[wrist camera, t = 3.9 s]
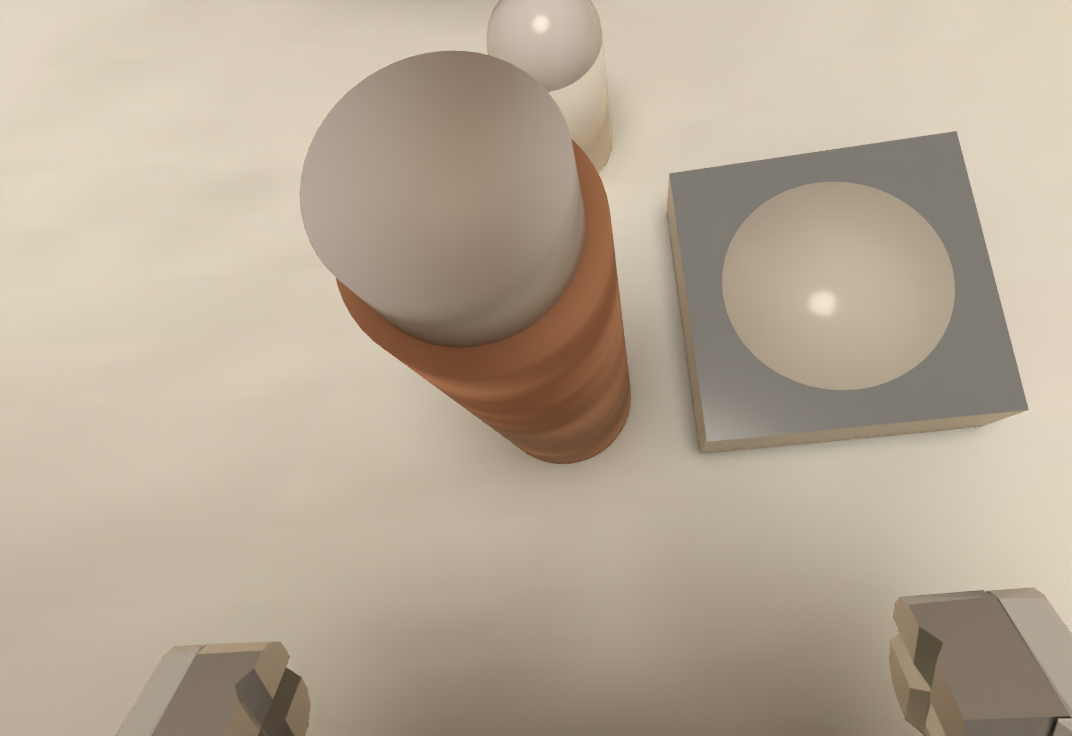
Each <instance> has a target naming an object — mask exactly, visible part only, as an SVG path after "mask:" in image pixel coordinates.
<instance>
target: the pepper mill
mask: <svg viewBox="0 0 1072 736" xmlns="http://www.w3.org/2000/svg"><path fill="white" fill-rule="evenodd" d="M300 204H301V213H302V218H303V223H304V227H305V230H306V233H307V235H308V238H309V241H310V243H311V245H312V247H313V248H314V250H315V252H316V254H317V256H318V257H319V258H320V260H321V261H322V262H323V264H324V265H325V266H326V268H327V269H328V270H329V271H330V272H331V273H332V274H333V275H334V276H335V277H336V280H337V285H338V288H339V291H340V293H341V296H342V299H343V301H344V303H345V305H346V307H347V309H348V310H349V312H350V314H351V316H352V317H353V318H354V320H355V321H356V322H357V324H358V325H359V326H360V328H361V329H362V330H363V331H364V332H365V333H366V334H367V335H368V336H369V337H370V338H371V339H372V340H373V341H374V342H375V343H377V344H378V345H379V346H381V347H382V348H384V349H385V350H386V351H388V352H389V353H390V354H392V355H393V356H394V357H396V358H397V359H399V360H400V361H401V362H403V363H404V364H405V365H407V366H408V367H409V368H411V369H412V370H414V371H415V372H416V373H418V374H419V375H420V376H422V377H423V378H425V379H426V380H427V381H429V382H430V383H431V384H433V385H434V386H435V387H437V388H438V389H440V390H441V391H442V392H444V393H445V394H446V395H448V396H449V397H451V398H452V399H453V400H455V401H456V402H457V403H459V404H460V405H461V406H463V407H464V408H466V409H467V410H468V411H470V412H471V413H472V414H474V415H475V416H477V417H478V418H479V419H481V420H482V421H483V422H485V423H486V424H487V425H489V426H490V427H492V428H493V429H494V430H496V431H497V432H498V433H500V434H501V435H503V436H504V437H505V438H507V439H508V440H509V441H511V442H512V443H513V444H515V445H516V446H518V447H519V448H520V449H522V450H523V451H524V452H526V453H527V454H529V455H531V456H533V457H534V458H537V459H539V460H542V461H546V462H550V463H558V464H569V463H575V462H580V461H583V460H587V459H589V458H591V457H593V456H595V455H597V454H598V453H600V452H602V451H603V450H604V449H606V448H607V447H608V446H609V445H610V444H611V443H612V442H613V441H614V440H615V439H616V437H617V436H618V435H619V433H620V432H621V430H622V428H623V426H624V424H625V422H626V419H627V417H628V413H629V408H630V400H631V395H630V383H629V374H628V366H627V357H626V348H625V339H624V331H623V322H622V313H621V304H620V296H619V287H618V278H617V269H616V261H615V252H614V243H613V234H612V226H611V217H610V210H609V205H608V200H607V195H606V192H605V189H604V186H603V183H602V181H601V178H600V176H599V174H598V173H597V171H596V169H595V167H594V165H593V163H592V162H591V161H590V159H589V158H588V156H587V155H586V154H585V152H584V151H583V150H582V149H581V148H580V147H579V146H578V145H577V144H576V143H575V142H574V141H573V140H572V139H571V135H570V132H569V129H568V126H567V123H566V120H565V118H564V116H563V114H562V113H561V111H560V109H559V107H558V105H557V104H556V102H555V101H554V99H553V98H552V97H551V95H550V94H549V93H548V91H547V90H546V89H545V88H544V87H543V86H542V85H541V84H540V83H539V82H538V81H537V80H535V79H534V78H533V77H531V76H530V75H529V74H527V73H526V72H525V71H523V70H521V69H520V68H518V67H516V66H514V65H513V64H511V63H509V62H506V61H504V60H501V59H498V58H496V57H493V56H489V55H485V54H481V53H475V52H466V51H440V52H432V53H425V54H421V55H417V56H413V57H409V58H406V59H403V60H401V61H398V62H395V63H393V64H391V65H389V66H387V67H384V68H382V69H380V70H378V71H377V72H375V73H374V74H372V75H370V76H369V77H367V78H366V79H364V80H363V81H361V82H360V83H359V84H358V85H356V86H355V87H354V88H352V89H351V90H350V91H349V92H348V93H347V94H346V95H345V96H344V97H343V98H342V99H341V100H340V101H339V102H338V103H337V104H336V105H335V106H334V108H333V109H332V110H331V111H330V112H329V114H328V115H327V116H326V118H325V119H324V121H323V122H322V124H321V126H320V127H319V129H318V130H317V132H316V134H315V136H314V138H313V140H312V142H311V145H310V147H309V150H308V153H307V156H306V159H305V161H304V166H303V171H302V176H301V186H300Z"/></svg>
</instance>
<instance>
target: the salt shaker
mask: <svg viewBox="0 0 1072 736" xmlns="http://www.w3.org/2000/svg"><path fill="white" fill-rule="evenodd" d="M487 51H488V55H489V56H493V57H496V58H498V59H501V60H504V61H506V62H509V63H511V64H513V65H514V66H516V67H518V68H520V69H521V70H523V71H525V72H526V73H527V74H529V75H530V76H531V77H533V78H534V79H535V80H537V81H538V82H539V83H540V84H541V85H542V86H543V87H544V88H545V89H546V90H547V91H548V93H549V94H550V95H551V97H552V98H553V99H554V101H555V102H556V104H557V105H558V107H559V109H560V111H561V113H562V114H563V116H564V118H565V120H566V123H567V126H568V129H569V132H570V135H571V139H572V140H573V141H574V142H575V143H576V144H577V145H578V146H579V147H580V148H581V149H582V150H583V151H584V152H585V154H586V155H587V156H588V158H589V159H590V161H591V162H592V163H593V165H594V167H595V169H596V171H597V173H599V172H600V171H601V170H602V168H603V167H604V166H605V164H606V163H607V161H608V159H609V156H610V153H611V148H612V137H611V125H610V114H609V103H608V92H607V80H606V69H605V58H604V46H603V35H602V28H601V23H600V19H599V16H598V13H597V11H596V9H595V7H594V5H593V3H592V2H591V0H499V1H498V2H497V4H496V6H495V7H494V10H493V12H492V14H491V17H490V20H489V23H488V29H487Z"/></svg>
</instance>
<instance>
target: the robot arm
mask: <svg viewBox="0 0 1072 736" xmlns="http://www.w3.org/2000/svg"><path fill="white" fill-rule="evenodd" d="M893 618H894V621H895V623H896V625H897V627H898V630H899V632H900V633H899V634H898V635H897V636H896V637H895V638H894V639H892V640H891V641H890V655H889V661H890V668H891V675H892V682H893V685H894V689H895V692H896V695H897V699H898V702H899V704H900V707H901V709H902V712H903V714H904V717H905V720H906V721H907V722H909V723H910V724H911V725H912V726H913V727H915V728H916V729H917V730H918V731H920V732H921V733H922V734H923V735H924V736H1072V634H1071V632H1070V631H1069V629H1068V628H1067V627H1066V625H1065V624H1064V622H1063V621H1062V619H1061V618H1060V617H1059V615H1058V614H1057V612H1056V611H1055V610H1054V608H1053V607H1052V605H1051V604H1050V602H1049V601H1048V600H1047V598H1046V597H1045V595H1044V594H1042V593H1041V592H1040V591H1038V590H1037V589H1035V588H1021V589H1007V590H993V591H986V592H985V591H983V590H980V591H968V592H956V593H943V594H931V595H919V596H907V597H899V598H898V600H897V601H896V603H895V607H894V615H893ZM289 658H290V656H289V654H288V653H287V651H286V649H285V648H284V646H283V645H282V643H281V642H260V643H234V644H209V645H192V646H175V647H174V648H173V649H171V650H170V651H169V652H168V653H167V654H165V655H164V656H163V658H162V659H161V661H160V662H159V664H158V666H157V668H156V669H155V671H154V673H153V674H152V676H151V678H150V679H149V681H148V683H147V684H146V686H145V688H144V689H143V691H142V693H141V694H140V696H139V698H138V699H137V701H136V703H135V704H134V706H133V708H132V709H131V711H130V713H129V714H128V716H127V718H126V719H125V721H124V723H123V724H122V726H121V728H120V730H119V731H118V733H117V735H116V736H305V735H306V732H307V729H308V725H309V713H310V699H309V694H308V689H307V687H306V685H305V683H304V681H303V679H302V677H301V676H299V675H297V674H296V673H294V672H292V671H291V670H289V669H287V668H286V666H287V663H288V661H289Z"/></svg>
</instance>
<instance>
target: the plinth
mask: <svg viewBox="0 0 1072 736" xmlns="http://www.w3.org/2000/svg"><path fill="white" fill-rule="evenodd" d="M667 218H668V225H669V232H670V239H671V247H672V254H673V261H674V268H675V276H676V283H677V290H678V297H679V305H680V312H681V319H682V326H683V334H684V341H685V348H686V355H687V363H688V370H689V377H690V384H691V392H692V399H693V406H694V413H695V421H696V428H697V435H698V442H699V450H700V454H702V453H712V452H722V451H733V450H743V449H753V448H764V447H774V446H784V445H795V444H805V443H815V442H826V441H836V440H846V439H857V438H867V437H877V436H888V435H898V434H908V433H919V432H929V431H939V430H950V429H960V428H970V427H981V426H984V425H986V424H989V423H992V422H995V421H998V420H1001V419H1004V418H1007V417H1010V416H1013V415H1015V414H1018V413H1021V412H1024V411H1027V410H1028V406H1027V402H1026V398H1025V394H1024V391H1023V387H1022V383H1021V379H1020V375H1019V371H1018V367H1017V364H1016V360H1015V356H1014V352H1013V348H1012V344H1011V340H1010V336H1009V333H1008V329H1007V325H1006V321H1005V317H1004V313H1003V309H1002V306H1001V302H1000V298H999V294H998V290H997V286H996V282H995V279H994V275H993V271H992V267H991V263H990V259H989V255H988V251H987V248H986V244H985V240H984V236H983V232H982V228H981V224H980V221H979V217H978V213H977V209H976V205H975V201H974V197H973V193H972V190H971V186H970V182H969V178H968V174H967V170H966V166H965V163H964V159H963V155H962V151H961V147H960V143H959V139H958V136H957V132H956V131H955V132H948V133H942V134H935V135H928V136H921V137H915V138H908V139H901V140H894V141H887V142H881V143H874V144H867V145H860V146H854V147H847V148H840V149H833V150H826V151H820V152H813V153H806V154H799V155H793V156H786V157H779V158H772V159H765V160H759V161H752V162H745V163H738V164H732V165H725V166H718V167H711V168H704V169H698V170H691V171H684V172H677V173H671V174H669V189H668V205H667Z"/></svg>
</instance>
